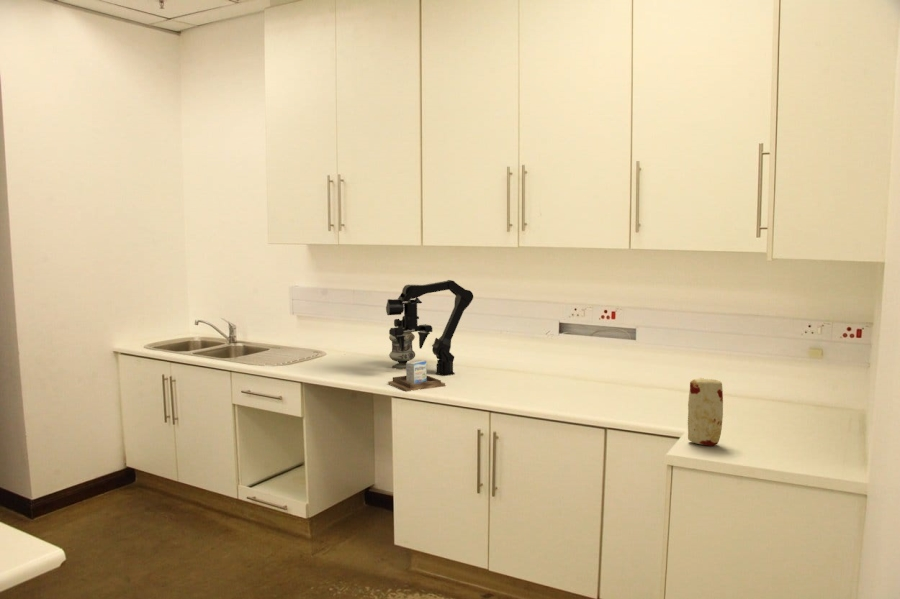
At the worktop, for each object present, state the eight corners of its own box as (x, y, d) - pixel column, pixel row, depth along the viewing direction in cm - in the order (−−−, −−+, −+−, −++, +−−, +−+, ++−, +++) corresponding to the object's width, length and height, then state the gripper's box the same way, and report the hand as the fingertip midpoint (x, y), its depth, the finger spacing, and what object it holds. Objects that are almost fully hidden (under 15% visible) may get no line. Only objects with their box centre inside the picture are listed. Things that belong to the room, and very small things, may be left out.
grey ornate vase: (403, 363, 336) (402, 326, 334) (420, 366, 327) (420, 328, 326) (384, 367, 327) (383, 329, 325) (401, 370, 319) (400, 331, 317)
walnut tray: (426, 378, 301) (426, 373, 301) (445, 385, 288) (445, 379, 287) (388, 383, 292) (388, 377, 292) (406, 391, 279) (405, 385, 278)
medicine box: (414, 384, 286) (413, 363, 285) (406, 383, 288) (405, 362, 288) (426, 381, 292) (426, 360, 291) (418, 380, 294) (418, 359, 294)
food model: (685, 445, 208) (687, 378, 206) (688, 439, 214) (690, 374, 212) (720, 449, 204) (723, 381, 202) (723, 443, 210) (725, 377, 208)
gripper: (419, 310, 315) (420, 345, 317) (382, 313, 305) (383, 349, 306) (432, 312, 306) (433, 348, 308) (395, 316, 296) (396, 353, 297)
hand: (411, 349), depth 305 cm, fingers open, 9 cm apart
